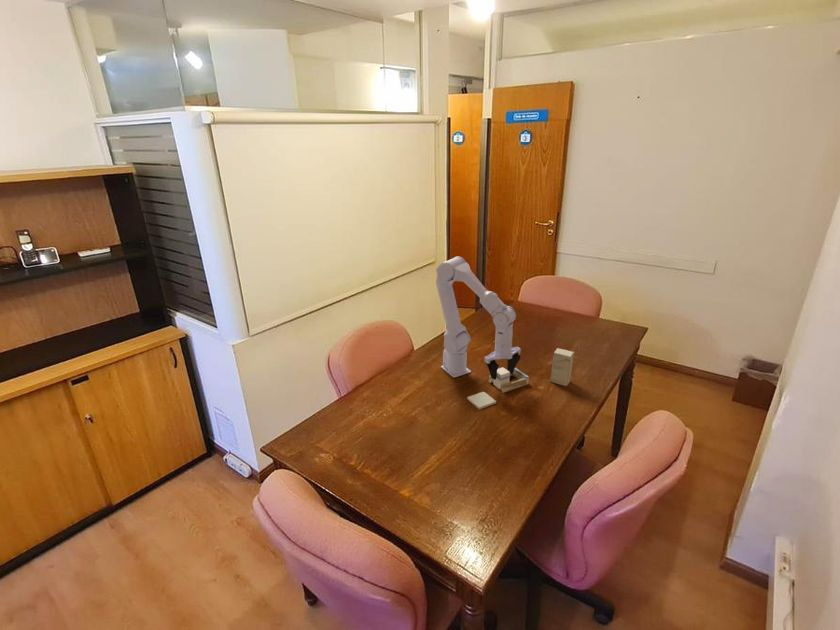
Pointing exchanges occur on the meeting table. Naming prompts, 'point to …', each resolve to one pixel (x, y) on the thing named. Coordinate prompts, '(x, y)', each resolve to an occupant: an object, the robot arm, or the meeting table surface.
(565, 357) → the skincare box
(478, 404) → the stand tile
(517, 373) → the shelf bay
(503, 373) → the block
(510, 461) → the meeting table surface
